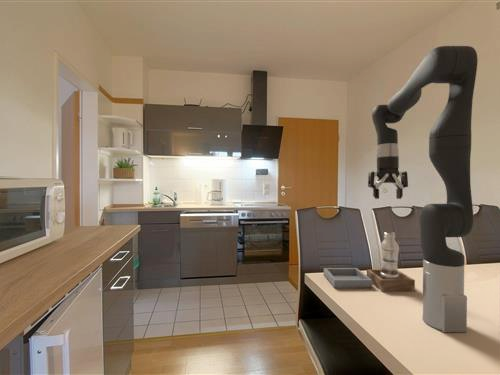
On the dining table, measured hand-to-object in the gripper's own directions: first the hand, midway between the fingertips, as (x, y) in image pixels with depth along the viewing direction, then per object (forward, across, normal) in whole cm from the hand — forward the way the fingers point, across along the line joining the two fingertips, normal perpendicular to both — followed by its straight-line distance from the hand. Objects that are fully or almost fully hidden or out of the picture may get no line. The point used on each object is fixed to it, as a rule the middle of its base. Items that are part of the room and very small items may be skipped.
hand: (387, 198), depth 103 cm
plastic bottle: (+33, 0, 0) cm, 33 cm away
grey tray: (+33, -15, +4) cm, 36 cm away
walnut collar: (+33, 0, 0) cm, 33 cm away
